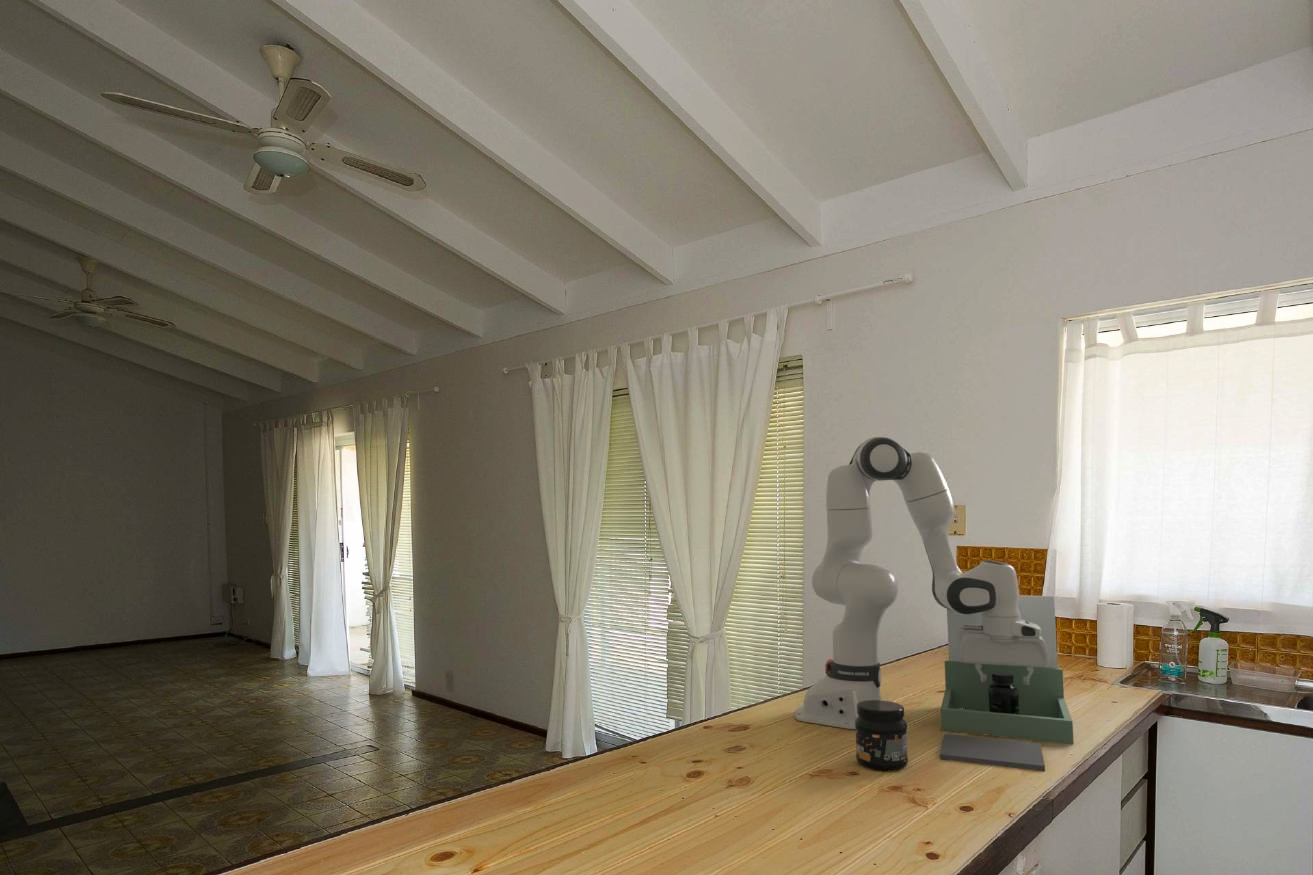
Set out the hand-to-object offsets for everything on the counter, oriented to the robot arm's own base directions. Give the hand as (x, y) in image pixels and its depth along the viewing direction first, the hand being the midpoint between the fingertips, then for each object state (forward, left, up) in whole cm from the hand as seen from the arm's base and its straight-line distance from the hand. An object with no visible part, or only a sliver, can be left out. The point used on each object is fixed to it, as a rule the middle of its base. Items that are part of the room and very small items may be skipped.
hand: (1004, 683), depth 192 cm
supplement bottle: (-1, 0, -10) cm, 10 cm away
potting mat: (-4, -26, -10) cm, 28 cm away
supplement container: (-25, -42, -10) cm, 50 cm away
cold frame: (-1, 0, -10) cm, 10 cm away
